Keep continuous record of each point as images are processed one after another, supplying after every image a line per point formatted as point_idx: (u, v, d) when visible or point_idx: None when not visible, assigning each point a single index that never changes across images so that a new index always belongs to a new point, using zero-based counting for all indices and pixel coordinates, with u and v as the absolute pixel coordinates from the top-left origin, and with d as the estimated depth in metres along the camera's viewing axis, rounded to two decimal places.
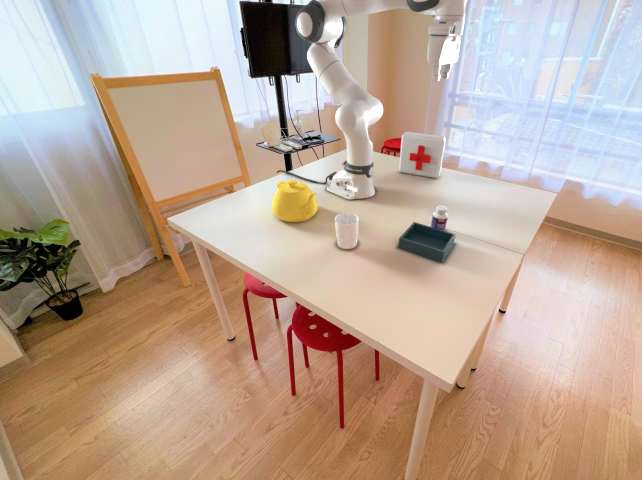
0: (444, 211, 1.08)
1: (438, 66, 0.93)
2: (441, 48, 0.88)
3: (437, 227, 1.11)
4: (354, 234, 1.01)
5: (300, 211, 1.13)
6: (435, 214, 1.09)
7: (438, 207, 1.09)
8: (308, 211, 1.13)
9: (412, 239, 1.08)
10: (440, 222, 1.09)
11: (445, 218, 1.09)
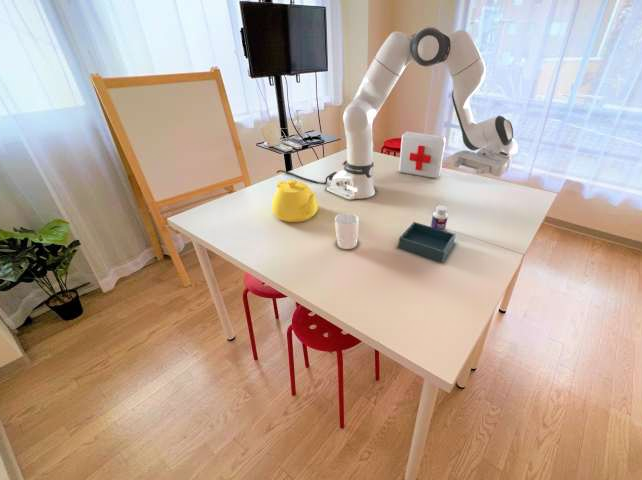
0: (444, 211, 1.08)
1: (488, 171, 1.07)
2: (503, 173, 1.08)
3: (437, 227, 1.11)
4: (354, 234, 1.01)
5: (300, 211, 1.13)
6: (435, 214, 1.09)
7: (438, 207, 1.09)
8: (308, 211, 1.13)
9: (412, 239, 1.08)
10: (440, 222, 1.09)
11: (445, 218, 1.09)
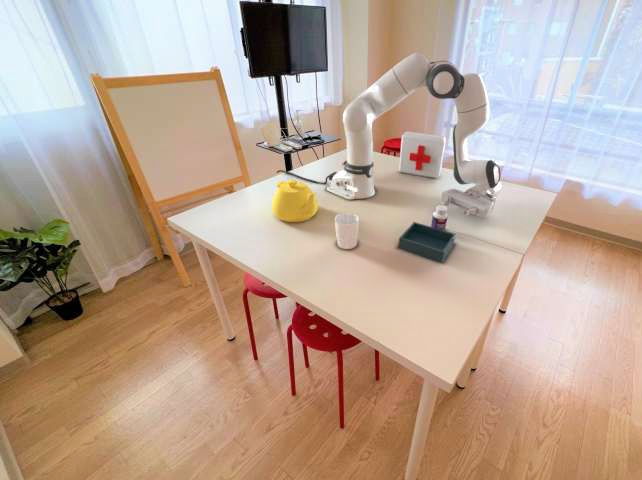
0: (444, 211, 1.08)
1: (475, 213, 1.15)
2: (488, 214, 1.17)
3: (437, 227, 1.11)
4: (354, 234, 1.01)
5: (300, 211, 1.13)
6: (435, 214, 1.09)
7: (438, 207, 1.09)
8: (308, 211, 1.13)
9: (412, 239, 1.08)
10: (440, 222, 1.09)
11: (445, 218, 1.09)
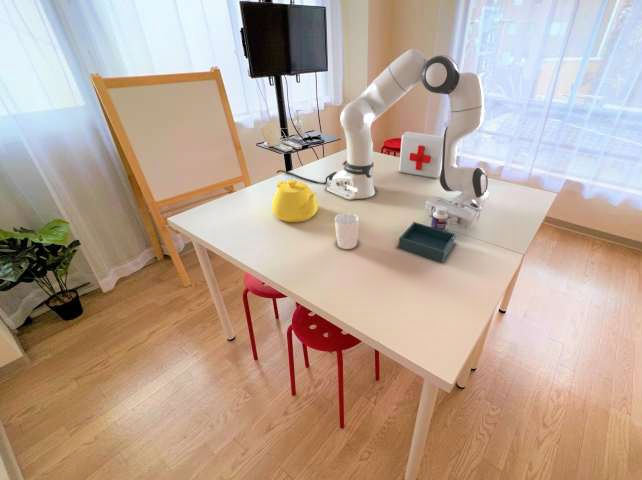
0: (444, 211, 1.08)
1: (456, 222, 1.11)
2: (473, 225, 1.11)
3: (437, 227, 1.11)
4: (354, 234, 1.01)
5: (300, 211, 1.13)
6: (435, 214, 1.09)
7: (438, 207, 1.09)
8: (308, 211, 1.13)
9: (412, 239, 1.08)
10: (440, 222, 1.09)
11: (445, 218, 1.09)
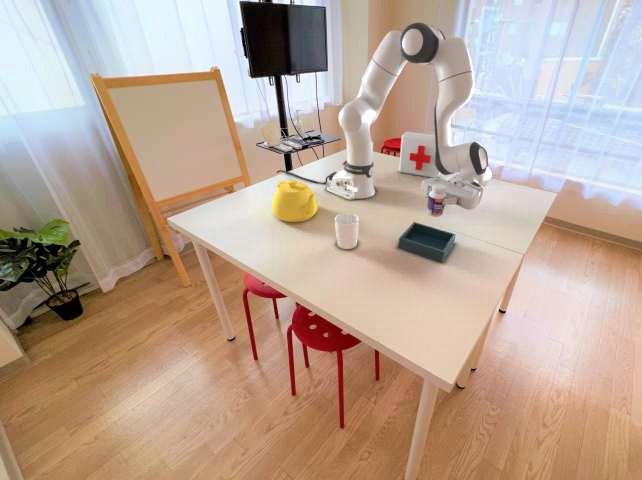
0: (442, 190, 0.95)
1: (455, 202, 0.98)
2: (475, 206, 0.99)
3: (434, 208, 0.98)
4: (354, 234, 1.01)
5: (300, 211, 1.13)
6: (432, 193, 0.97)
7: (435, 185, 0.97)
8: (308, 211, 1.13)
9: (412, 239, 1.08)
10: (437, 202, 0.97)
11: (443, 198, 0.96)
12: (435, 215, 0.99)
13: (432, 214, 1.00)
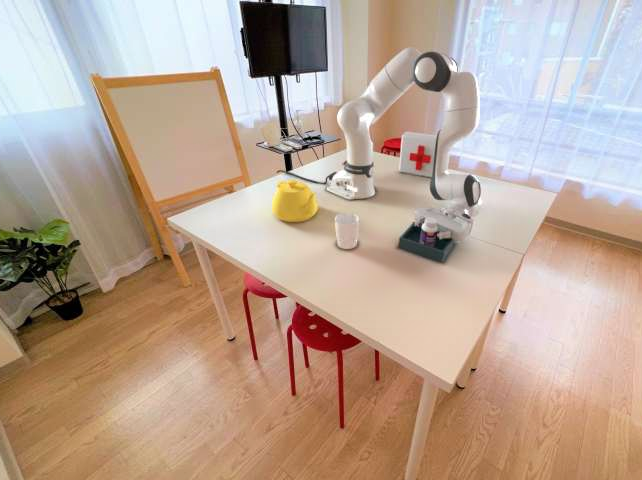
0: (433, 224, 0.99)
1: (450, 236, 1.01)
2: (465, 238, 1.02)
3: (426, 241, 1.02)
4: (354, 234, 1.01)
5: (300, 211, 1.13)
6: (424, 226, 1.01)
7: (427, 219, 1.00)
8: (308, 211, 1.13)
9: (412, 239, 1.08)
10: (429, 235, 1.01)
11: (435, 231, 1.00)
12: None
13: None
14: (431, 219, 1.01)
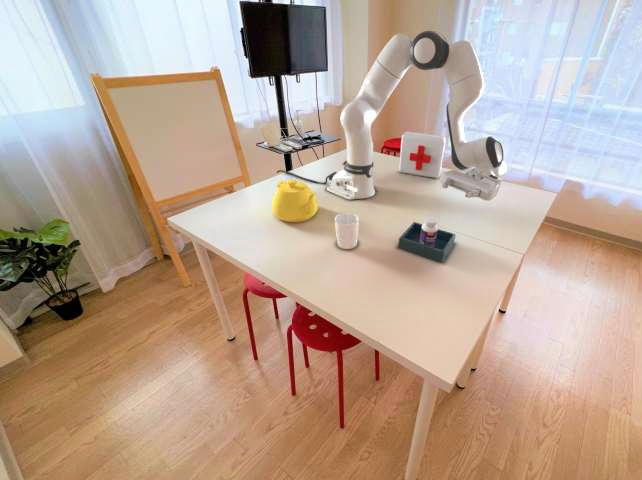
0: (433, 224, 0.99)
1: (478, 195, 1.02)
2: (492, 198, 1.04)
3: (426, 241, 1.02)
4: (354, 234, 1.01)
5: (300, 211, 1.13)
6: (424, 226, 1.01)
7: (427, 219, 1.00)
8: (308, 211, 1.13)
9: (412, 239, 1.08)
10: (429, 235, 1.01)
11: (435, 231, 1.00)
12: None
13: None
14: (431, 219, 1.01)
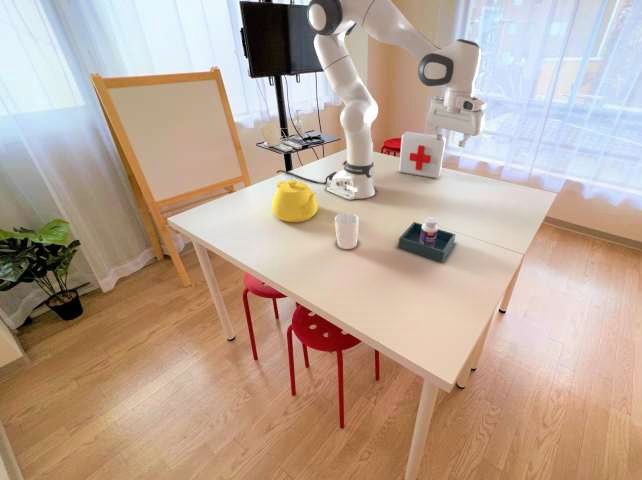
0: (433, 224, 0.99)
1: (470, 134, 1.01)
2: (483, 120, 0.97)
3: (426, 241, 1.02)
4: (354, 234, 1.01)
5: (300, 211, 1.13)
6: (424, 226, 1.01)
7: (427, 219, 1.00)
8: (308, 211, 1.13)
9: (412, 239, 1.08)
10: (429, 235, 1.01)
11: (435, 231, 1.00)
12: None
13: None
14: (431, 219, 1.01)
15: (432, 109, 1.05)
